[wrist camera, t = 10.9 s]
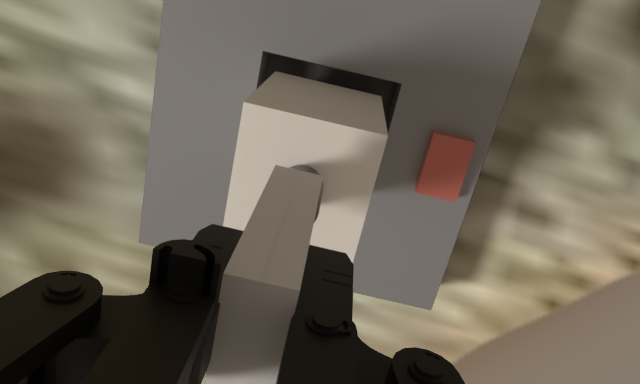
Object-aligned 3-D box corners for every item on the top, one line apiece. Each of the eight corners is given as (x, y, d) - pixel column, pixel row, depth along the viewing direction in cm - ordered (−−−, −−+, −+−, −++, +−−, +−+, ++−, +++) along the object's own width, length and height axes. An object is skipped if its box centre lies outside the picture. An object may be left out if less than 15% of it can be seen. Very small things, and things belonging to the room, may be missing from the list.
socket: (190, -82, 24) (167, -91, 22) (524, -2, 25) (546, -1, 22) (155, 223, 30) (134, 247, 28) (425, 285, 31) (432, 316, 28)
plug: (282, 64, 26) (229, 115, 16) (379, 87, 26) (391, 153, 16) (264, 157, 28) (207, 258, 18) (355, 179, 28) (351, 291, 18)
